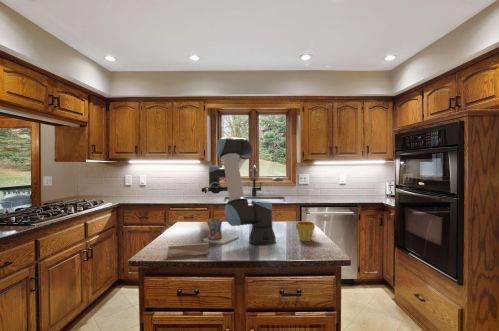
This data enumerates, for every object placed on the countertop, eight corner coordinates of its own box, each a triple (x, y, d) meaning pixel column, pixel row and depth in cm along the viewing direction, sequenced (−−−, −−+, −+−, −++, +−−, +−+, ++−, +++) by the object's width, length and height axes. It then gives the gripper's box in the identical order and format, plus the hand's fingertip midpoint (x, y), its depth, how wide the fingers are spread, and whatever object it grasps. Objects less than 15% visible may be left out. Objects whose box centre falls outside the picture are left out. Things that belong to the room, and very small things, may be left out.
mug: (223, 240, 157) (222, 221, 157) (206, 240, 156) (206, 222, 156) (222, 234, 169) (222, 217, 169) (207, 235, 168) (206, 218, 168)
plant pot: (313, 243, 153) (313, 225, 152) (295, 241, 156) (294, 224, 156) (315, 238, 162) (315, 221, 162) (297, 236, 166) (297, 220, 166)
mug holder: (170, 246, 151) (170, 236, 151) (206, 243, 155) (206, 234, 155) (168, 256, 133) (168, 246, 133) (208, 253, 137) (208, 243, 137)
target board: (238, 238, 164) (238, 236, 164) (223, 244, 152) (223, 242, 152) (219, 235, 172) (219, 233, 172) (202, 240, 160) (202, 239, 160)
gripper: (233, 192, 195) (238, 195, 174) (197, 193, 189) (198, 197, 169) (233, 182, 195) (238, 184, 174) (197, 183, 189) (198, 185, 169)
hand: (218, 190), depth 171 cm, fingers open, 13 cm apart
